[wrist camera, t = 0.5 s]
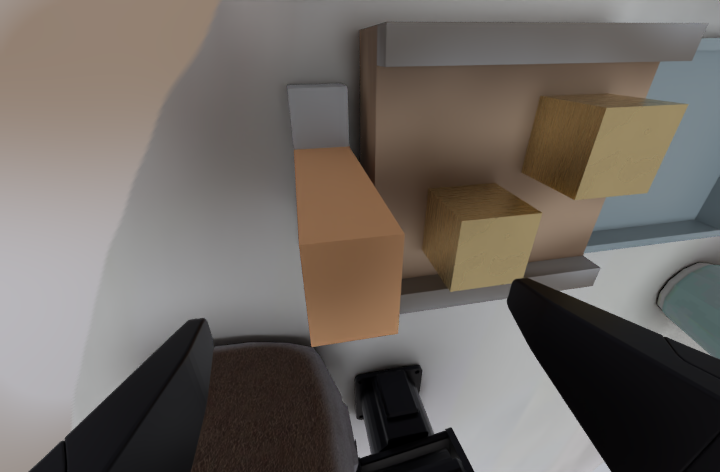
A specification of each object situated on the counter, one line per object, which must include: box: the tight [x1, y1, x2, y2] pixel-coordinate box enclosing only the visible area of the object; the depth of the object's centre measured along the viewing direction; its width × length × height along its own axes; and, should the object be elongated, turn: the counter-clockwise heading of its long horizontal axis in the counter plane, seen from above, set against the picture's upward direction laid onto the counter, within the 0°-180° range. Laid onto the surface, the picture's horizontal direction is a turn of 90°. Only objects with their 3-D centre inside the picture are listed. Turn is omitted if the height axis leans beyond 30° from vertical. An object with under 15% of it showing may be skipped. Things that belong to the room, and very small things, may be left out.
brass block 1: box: [422, 183, 542, 292], centre depth 17 cm, size 4×4×4 cm
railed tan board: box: [359, 22, 709, 314], centre depth 19 cm, size 15×15×6 cm
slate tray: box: [584, 38, 720, 253], centre depth 23 cm, size 14×16×2 cm
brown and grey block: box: [287, 83, 405, 347], centre depth 15 cm, size 10×3×12 cm, turn 0°
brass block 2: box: [521, 94, 689, 200], centre depth 16 cm, size 4×4×4 cm
